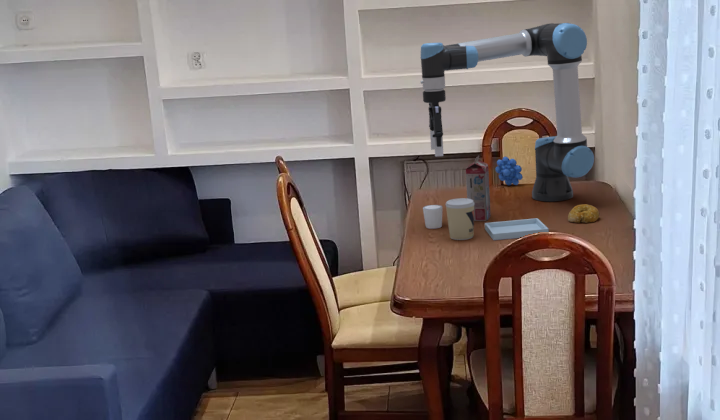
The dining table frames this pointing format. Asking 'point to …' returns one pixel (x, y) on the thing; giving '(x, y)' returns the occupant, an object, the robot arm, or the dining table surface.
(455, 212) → the coffee cup
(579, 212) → the bagel
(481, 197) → the juice carton
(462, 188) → the dining table surface
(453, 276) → the dining table surface
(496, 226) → the tray
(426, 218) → the white tapered cylinder
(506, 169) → the grapes
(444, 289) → the dining table surface
